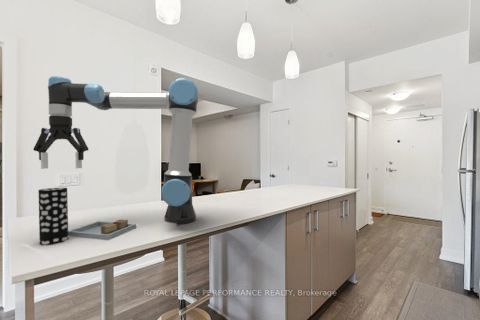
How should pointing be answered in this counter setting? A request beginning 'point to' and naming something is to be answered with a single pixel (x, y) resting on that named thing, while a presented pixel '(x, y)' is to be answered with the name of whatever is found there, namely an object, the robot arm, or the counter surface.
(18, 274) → the counter surface
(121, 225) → the walnut block
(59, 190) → the white-spotted black cylinder
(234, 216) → the counter surface
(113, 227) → the walnut block
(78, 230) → the tray
